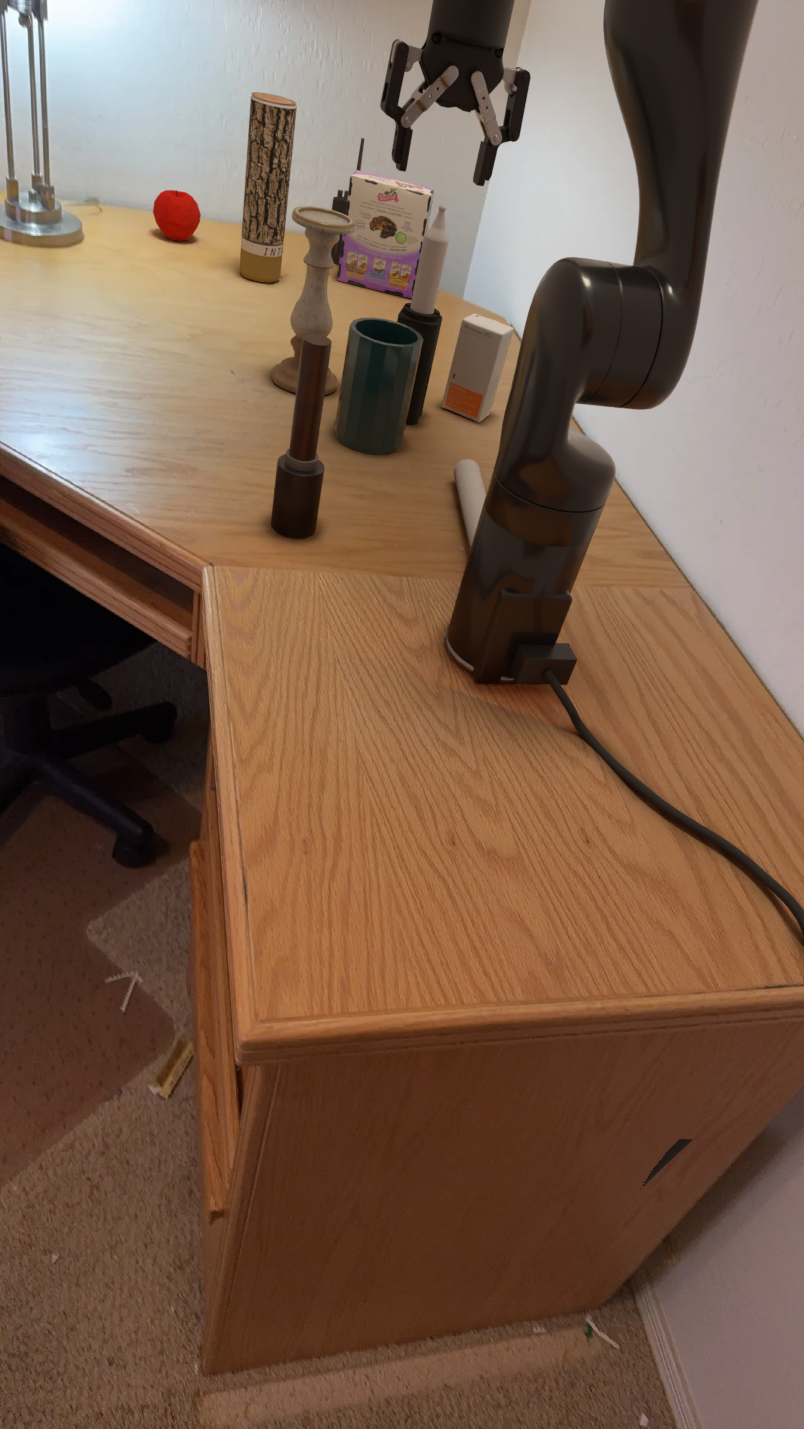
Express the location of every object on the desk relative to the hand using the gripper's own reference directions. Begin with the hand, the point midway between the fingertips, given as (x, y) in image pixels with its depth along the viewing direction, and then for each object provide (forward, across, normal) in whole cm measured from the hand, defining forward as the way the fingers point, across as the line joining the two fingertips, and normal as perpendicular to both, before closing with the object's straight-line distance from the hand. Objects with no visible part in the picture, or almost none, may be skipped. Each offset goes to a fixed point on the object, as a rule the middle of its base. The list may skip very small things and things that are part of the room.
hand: (439, 176), depth 91 cm
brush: (+29, -15, -23) cm, 40 cm away
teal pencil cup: (+29, -3, -1) cm, 29 cm away
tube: (+29, +5, -23) cm, 37 cm away
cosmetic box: (+29, +13, +10) cm, 33 cm away
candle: (+29, +3, +7) cm, 30 cm away
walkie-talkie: (+28, +4, +71) cm, 77 cm away
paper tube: (+28, -12, +56) cm, 64 cm away
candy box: (+28, +9, +60) cm, 67 cm away
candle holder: (+29, -9, +14) cm, 33 cm away
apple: (+28, -25, +71) cm, 80 cm away
